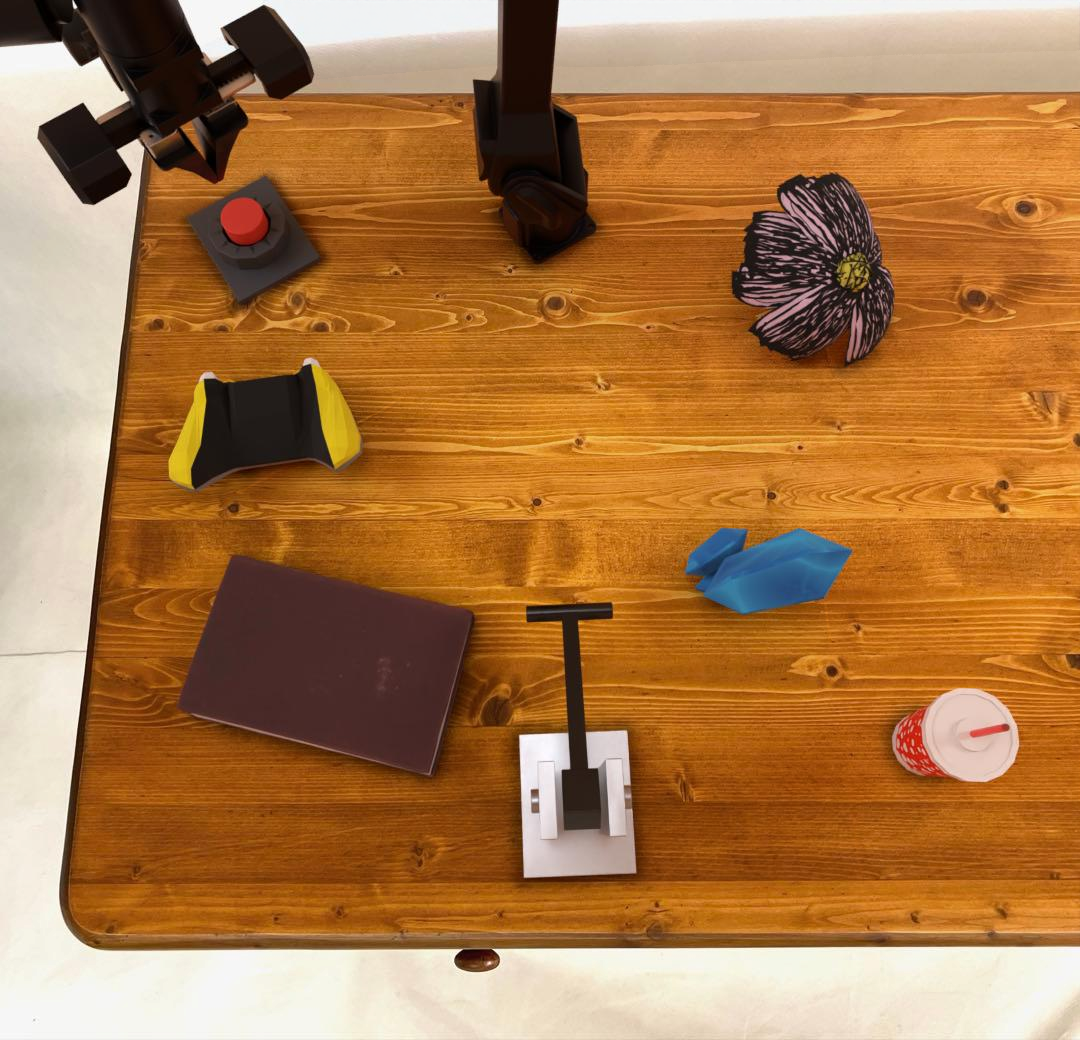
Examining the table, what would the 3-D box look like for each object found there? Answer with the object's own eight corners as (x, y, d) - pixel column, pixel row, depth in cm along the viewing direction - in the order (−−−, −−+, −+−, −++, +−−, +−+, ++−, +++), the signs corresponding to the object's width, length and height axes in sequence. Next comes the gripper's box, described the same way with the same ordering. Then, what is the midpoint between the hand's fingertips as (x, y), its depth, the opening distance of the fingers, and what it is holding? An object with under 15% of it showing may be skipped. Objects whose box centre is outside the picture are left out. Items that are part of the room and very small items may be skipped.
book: (243, 560, 78) (229, 549, 75) (477, 617, 76) (473, 608, 73) (189, 715, 74) (173, 711, 71) (433, 778, 73) (428, 777, 70)
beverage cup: (968, 712, 73) (1060, 689, 60) (960, 795, 72) (1053, 789, 58) (886, 694, 74) (960, 667, 61) (876, 776, 72) (949, 766, 59)
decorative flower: (802, 364, 71) (759, 163, 71) (722, 394, 82) (685, 220, 82) (958, 337, 76) (918, 149, 76) (863, 369, 87) (828, 205, 87)
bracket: (519, 735, 73) (510, 714, 58) (626, 731, 73) (644, 708, 58) (524, 877, 71) (516, 893, 55) (635, 872, 71) (656, 887, 55)
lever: (526, 617, 69) (525, 596, 68) (611, 614, 69) (612, 593, 68) (532, 832, 59) (530, 814, 57) (632, 828, 59) (634, 809, 57)
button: (219, 222, 84) (212, 210, 83) (256, 202, 85) (250, 190, 83) (238, 252, 84) (232, 241, 82) (276, 232, 84) (270, 220, 82)
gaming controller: (371, 483, 80) (360, 372, 82) (358, 459, 74) (347, 342, 77) (187, 510, 79) (182, 397, 82) (161, 488, 74) (156, 368, 77)
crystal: (669, 531, 71) (832, 479, 69) (681, 554, 79) (827, 509, 77) (699, 629, 69) (869, 579, 67) (708, 643, 77) (860, 598, 75)
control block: (188, 222, 87) (178, 205, 85) (268, 179, 88) (260, 161, 86) (241, 305, 84) (232, 290, 82) (322, 261, 86) (315, 245, 83)
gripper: (203, -124, 65) (265, 53, 80) (-55, 7, 62) (60, 165, 77) (290, -15, 62) (338, 146, 77) (26, 127, 59) (129, 267, 74)
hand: (215, 178), depth 76 cm, fingers closed
